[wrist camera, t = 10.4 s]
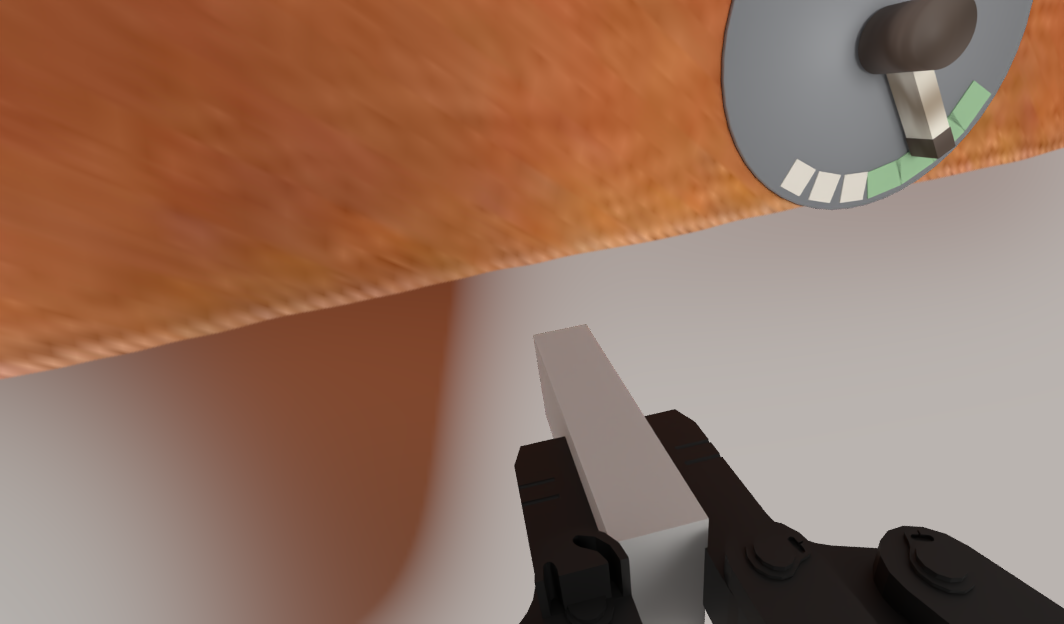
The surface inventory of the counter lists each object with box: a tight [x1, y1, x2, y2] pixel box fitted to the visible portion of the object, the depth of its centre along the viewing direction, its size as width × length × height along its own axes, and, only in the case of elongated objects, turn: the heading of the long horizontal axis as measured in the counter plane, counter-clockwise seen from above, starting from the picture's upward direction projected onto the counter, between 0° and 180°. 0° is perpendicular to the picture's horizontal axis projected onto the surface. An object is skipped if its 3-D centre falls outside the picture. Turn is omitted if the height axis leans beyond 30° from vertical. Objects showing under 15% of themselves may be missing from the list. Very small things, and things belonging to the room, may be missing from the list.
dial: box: [721, 0, 1033, 210], centre depth 38 cm, size 28×28×1 cm
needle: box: [858, 0, 977, 159], centre depth 37 cm, size 14×5×5 cm, turn 38°
